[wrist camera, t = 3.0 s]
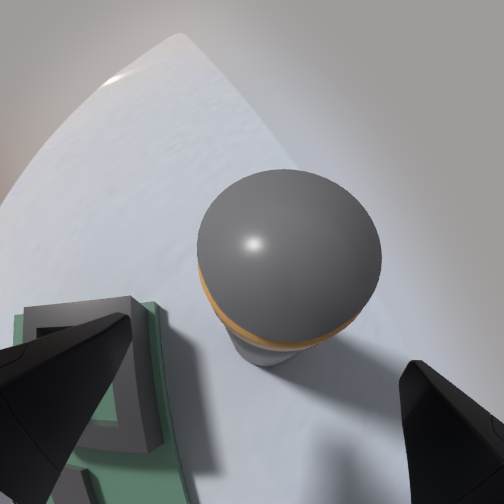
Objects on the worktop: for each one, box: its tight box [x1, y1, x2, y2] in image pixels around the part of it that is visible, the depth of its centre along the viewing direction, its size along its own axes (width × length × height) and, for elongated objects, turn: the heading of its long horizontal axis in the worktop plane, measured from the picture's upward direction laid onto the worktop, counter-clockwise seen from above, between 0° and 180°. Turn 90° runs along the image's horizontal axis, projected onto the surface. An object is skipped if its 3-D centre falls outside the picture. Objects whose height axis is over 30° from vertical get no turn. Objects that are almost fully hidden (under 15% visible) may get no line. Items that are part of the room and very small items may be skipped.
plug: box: [197, 169, 382, 366], centre depth 12 cm, size 5×5×12 cm
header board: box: [13, 296, 190, 504], centre depth 12 cm, size 18×14×4 cm
